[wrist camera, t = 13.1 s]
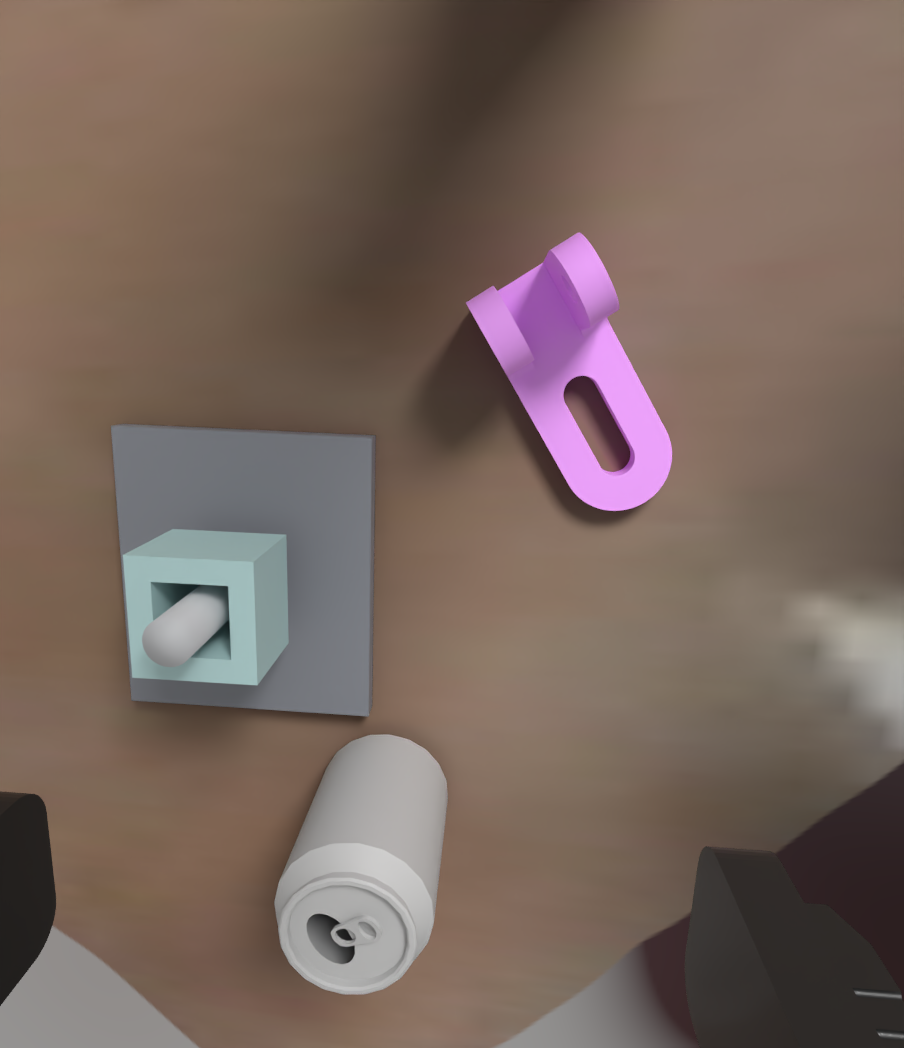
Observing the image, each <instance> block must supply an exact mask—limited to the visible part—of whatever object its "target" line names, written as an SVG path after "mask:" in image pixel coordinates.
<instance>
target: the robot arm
mask: <svg viewBox="0 0 904 1048" xmlns="http://www.w3.org/2000/svg"><path fill="white" fill-rule="evenodd" d="M55 910H56V893H55V884H54V875H53V866H52V857H51V848H50V839H49V830H48V821H47V812H46V807H45V804H44V802H43V800H42V799H41V798H40V797H39V796H38V795H35V794H26V793H13V792H0V1006H1V1004H2V1003H3V1002H4V1000H5V999H6V998H7V996H8V995H9V994H10V992H11V991H12V990H13V989H14V987H15V986H16V984H17V983H18V982H19V981H20V980H21V978H22V977H23V976H24V974H25V973H26V972H27V970H28V969H29V968H30V967H31V965H32V964H33V963H34V961H35V960H36V958H37V957H38V955H39V954H40V952H41V950H42V949H43V947H44V945H45V943H46V941H47V938H48V936H49V933H50V930H51V927H52V924H53V920H54V916H55ZM685 982H686V992H687V1000H688V1006H689V1011H690V1015H691V1019H692V1023H693V1026H694V1030H695V1033H696V1036H697V1040H698V1043H699V1047H700V1048H904V1001H903V1000H902V996H901V991H900V989H899V987H898V986H897V984H896V983H895V982H894V980H893V978H892V977H891V975H890V973H889V972H888V970H887V969H886V967H885V966H884V964H883V963H882V961H881V959H880V958H879V956H878V955H877V953H876V952H875V950H874V948H873V947H872V945H871V944H870V943H869V942H868V941H866V940H865V939H864V938H863V937H862V936H861V935H860V934H859V933H858V932H857V931H856V930H854V929H853V928H852V927H851V926H850V925H849V924H848V923H847V922H846V921H844V920H843V919H842V918H841V917H840V916H839V915H838V914H837V913H836V912H835V911H834V910H832V909H831V908H830V907H829V906H828V905H823V904H810V903H804V902H803V900H802V898H801V896H800V895H799V893H798V891H797V890H796V888H795V886H794V884H793V882H792V881H791V879H790V877H789V875H788V873H787V872H786V870H785V868H784V866H783V865H782V863H781V861H780V860H779V858H778V857H777V856H776V855H775V854H774V853H773V852H770V851H759V850H746V849H732V848H719V847H704V848H703V850H702V852H701V854H700V857H699V862H698V868H697V875H696V882H695V889H694V896H693V904H692V911H691V918H690V925H689V932H688V939H687V946H686V955H685Z"/></svg>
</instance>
